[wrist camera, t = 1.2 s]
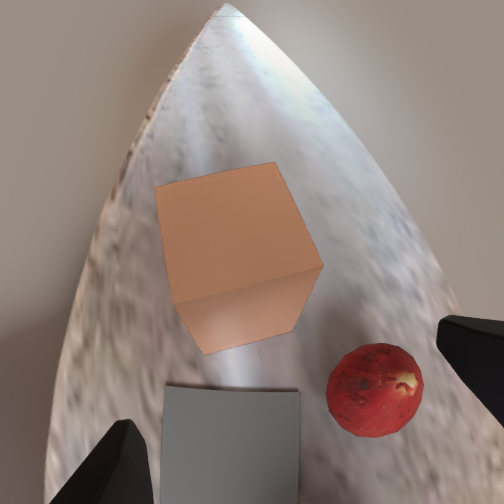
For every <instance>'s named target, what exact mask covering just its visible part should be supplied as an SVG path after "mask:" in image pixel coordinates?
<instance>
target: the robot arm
mask: <svg viewBox="0 0 504 504" xmlns="http://www.w3.org/2000/svg"><path fill="white" fill-rule="evenodd" d="M436 345H437V348H438V349H439V351H440V352H441V353H442V355H443V356H444V357H445V359H446V360H447V361H448V363H449V364H450V365H451V367H452V368H453V369H454V371H455V372H456V373H457V375H458V376H459V377H460V379H461V380H462V381H463V382H464V383H465V385H466V386H467V387H468V388H469V389H470V390H471V391H472V392H473V393H474V395H475V396H476V397H477V398H478V399H479V400H480V401H481V402H482V403H483V405H484V406H485V407H486V408H487V409H488V410H489V411H490V413H491V414H492V415H493V416H494V417H495V418H496V419H497V421H498V422H499V423H500V424H501V425H502V426H503V428H504V321H498V320H489V319H480V318H472V317H464V316H456V315H448V316H446V317H444V318H442V319H441V320H440V321H439V323H438V331H437V339H436ZM49 504H154V500H153V490H152V483H151V476H150V470H149V463H148V455H147V447H146V443H145V440H144V438H143V437H142V435H141V433H140V432H139V430H138V428H137V427H136V425H135V423H134V422H133V421H132V420H131V419H124V420H118V421H116V422H115V423H114V424H113V425H112V426H111V428H110V429H109V430H108V431H107V433H106V434H105V435H104V436H103V437H102V439H101V440H100V441H99V442H98V444H97V445H96V446H95V447H94V449H93V450H92V451H91V452H90V454H89V455H88V456H87V457H86V459H85V460H84V461H83V462H82V464H81V465H80V466H79V467H78V468H77V470H76V471H75V472H74V473H73V475H72V476H71V477H70V478H69V480H68V481H67V482H66V483H65V485H64V486H63V487H62V488H61V490H60V491H59V492H58V493H57V495H56V496H55V497H54V498H53V499H52V501H51V502H50V503H49Z"/></svg>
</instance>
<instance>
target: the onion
mask: <svg viewBox="0 0 504 504" xmlns="http://www.w3.org/2000/svg"><path fill="white" fill-rule="evenodd" d="M423 386H424V384H423V379H422V374H421V370H420V368H419V366H418V365H417V363H416V361H415V360H414V358H413V357H412V356H411V355H410V354H408V353H407V352H406V351H404V350H403V349H402V348H400V347H399V346H394V345H390V344H385V343H377V344H369V345H364V346H361V347H359V348H357V349H355V350H354V351H352V352H350V353H349V354H347V355H345V356H344V357H343V359H342V360H341V361H340V362H339V364H338V365H337V366H336V368H335V369H334V370H333V371H332V373H331V374H330V377H329V381H328V385H327V389H326V398H327V403H328V408H329V412H330V413H331V414H332V416H333V417H334V418H335V420H336V421H337V422H338V423H339V425H340V426H341V427H342V428H343V429H345V430H347V431H349V432H351V433H352V434H354V435H356V436H361V437H373V438H376V437H381V436H385V435H388V434H391V433H395V432H397V431H399V430H400V429H401V428H402V427H403V426H404V425H405V424H407V423H408V422H409V421H410V420H411V419H412V418H413V416H414V415H415V413H416V411H417V409H418V407H419V405H420V403H421V399H422V393H423Z"/></svg>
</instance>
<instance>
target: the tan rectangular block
mask: <svg viewBox="0 0 504 504" xmlns="http://www.w3.org/2000/svg"><path fill="white" fill-rule="evenodd" d="M154 189H155V197H156V204H157V212H158V219H159V226H160V232H161V239H162V245H163V251H164V257H165V263H166V269H167V274H168V280H169V285H170V291H171V296H172V301H173V305H174V307H175V308H176V310H177V312H178V313H179V315H180V317H181V318H182V320H183V322H184V324H185V325H186V327H187V329H188V330H189V332H190V333H191V335H192V337H193V338H194V340H195V342H196V343H197V345H198V346H199V348H200V350H201V351H202V353H203V354H204V355H206V354H210V353H214V352H218V351H222V350H226V349H230V348H234V347H237V346H241V345H245V344H249V343H252V342H256V341H259V340H263V339H266V338H270V337H273V336H277V335H280V334H283V333H287V332H290V331H292V330H293V328H294V326H295V324H296V322H297V320H298V318H299V316H300V314H301V312H302V310H303V308H304V305H305V303H306V301H307V299H308V297H309V295H310V293H311V291H312V289H313V287H314V285H315V282H316V280H317V278H318V276H319V274H320V272H321V270H322V267H323V263H322V261H321V259H320V256H319V254H318V252H317V250H316V247H315V245H314V243H313V241H312V239H311V236H310V234H309V232H308V230H307V228H306V225H305V223H304V221H303V219H302V217H301V215H300V213H299V210H298V208H297V206H296V204H295V202H294V200H293V198H292V196H291V194H290V192H289V190H288V187H287V185H286V183H285V181H284V179H283V177H282V175H281V173H280V171H279V169H278V167H277V165H276V163H275V162H271V163H265V164H260V165H255V166H249V167H244V168H239V169H234V170H229V171H224V172H219V173H215V174H210V175H205V176H201V177H196V178H192V179H188V180H183V181H179V182H175V183H171V184H167V185H163V186H159V187H155V188H154Z"/></svg>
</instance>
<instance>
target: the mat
mask: <svg viewBox="0 0 504 504" xmlns="http://www.w3.org/2000/svg"><path fill="white" fill-rule="evenodd" d="M299 442H300V392H242V391H221V390H206V389H193V388H183V387H173V386H166V387H165V399H164V414H163V430H162V451H161V484H160V504H298V481H299Z"/></svg>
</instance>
